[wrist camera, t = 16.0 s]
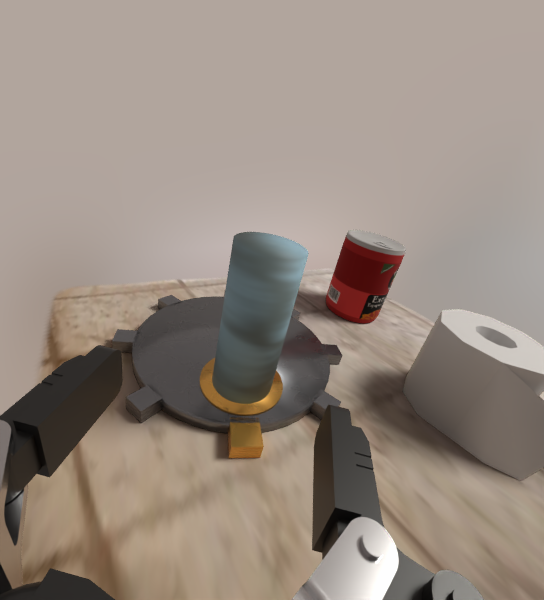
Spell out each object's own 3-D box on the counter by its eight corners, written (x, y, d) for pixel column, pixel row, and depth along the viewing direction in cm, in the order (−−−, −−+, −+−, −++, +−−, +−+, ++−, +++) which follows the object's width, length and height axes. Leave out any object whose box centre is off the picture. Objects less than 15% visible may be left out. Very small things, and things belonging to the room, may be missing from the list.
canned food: (368, 331, 40) (401, 254, 35) (315, 307, 44) (338, 233, 39) (381, 312, 47) (411, 244, 42) (334, 292, 50) (356, 227, 45)
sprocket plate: (269, 293, 44) (271, 284, 43) (385, 401, 29) (390, 390, 28) (102, 310, 32) (101, 298, 32) (150, 506, 17) (150, 491, 17)
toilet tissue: (544, 508, 22) (630, 430, 19) (386, 392, 30) (424, 320, 26) (556, 446, 28) (623, 378, 25) (422, 363, 36) (456, 301, 32)
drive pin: (253, 356, 28) (281, 233, 23) (282, 393, 25) (323, 258, 20) (203, 367, 26) (221, 230, 20) (227, 411, 22) (257, 260, 17)
